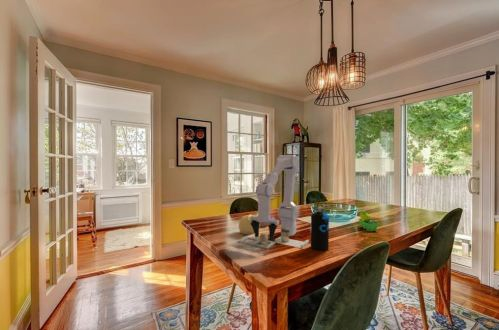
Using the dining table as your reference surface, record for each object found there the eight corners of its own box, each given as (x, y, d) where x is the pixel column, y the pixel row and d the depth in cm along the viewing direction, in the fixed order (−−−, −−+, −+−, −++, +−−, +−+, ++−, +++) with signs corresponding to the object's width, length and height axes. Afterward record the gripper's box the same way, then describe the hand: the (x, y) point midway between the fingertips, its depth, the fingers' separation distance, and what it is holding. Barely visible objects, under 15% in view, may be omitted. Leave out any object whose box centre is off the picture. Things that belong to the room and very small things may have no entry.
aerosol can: (306, 251, 108) (307, 207, 108) (316, 246, 114) (316, 205, 114) (323, 256, 102) (324, 209, 102) (332, 251, 108) (333, 207, 108)
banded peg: (257, 247, 113) (258, 234, 113) (263, 245, 115) (263, 232, 115) (264, 249, 110) (264, 236, 110) (269, 247, 113) (270, 234, 112)
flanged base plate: (282, 240, 123) (282, 235, 123) (309, 245, 115) (309, 240, 115) (274, 245, 115) (274, 239, 115) (302, 251, 108) (302, 245, 108)
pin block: (247, 240, 122) (247, 236, 122) (275, 246, 114) (275, 242, 114) (237, 245, 115) (238, 240, 115) (267, 251, 107) (267, 247, 107)
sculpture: (256, 237, 127) (256, 217, 127) (235, 235, 131) (235, 215, 131) (262, 232, 138) (262, 213, 138) (242, 229, 142) (243, 211, 142)
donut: (257, 221, 163) (257, 214, 163) (278, 223, 158) (278, 216, 158) (250, 226, 150) (250, 218, 150) (272, 229, 145) (272, 220, 145)
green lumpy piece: (379, 231, 141) (379, 212, 141) (364, 231, 141) (364, 212, 141) (370, 226, 152) (370, 209, 152) (356, 226, 153) (356, 208, 153)
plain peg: (283, 239, 120) (283, 227, 120) (290, 240, 118) (290, 228, 118) (279, 241, 116) (279, 229, 116) (287, 243, 114) (287, 230, 114)
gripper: (246, 208, 113) (246, 237, 113) (274, 212, 105) (274, 243, 105) (254, 206, 119) (254, 233, 119) (281, 209, 111) (280, 239, 111)
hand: (263, 238), depth 112 cm, fingers open, 7 cm apart
